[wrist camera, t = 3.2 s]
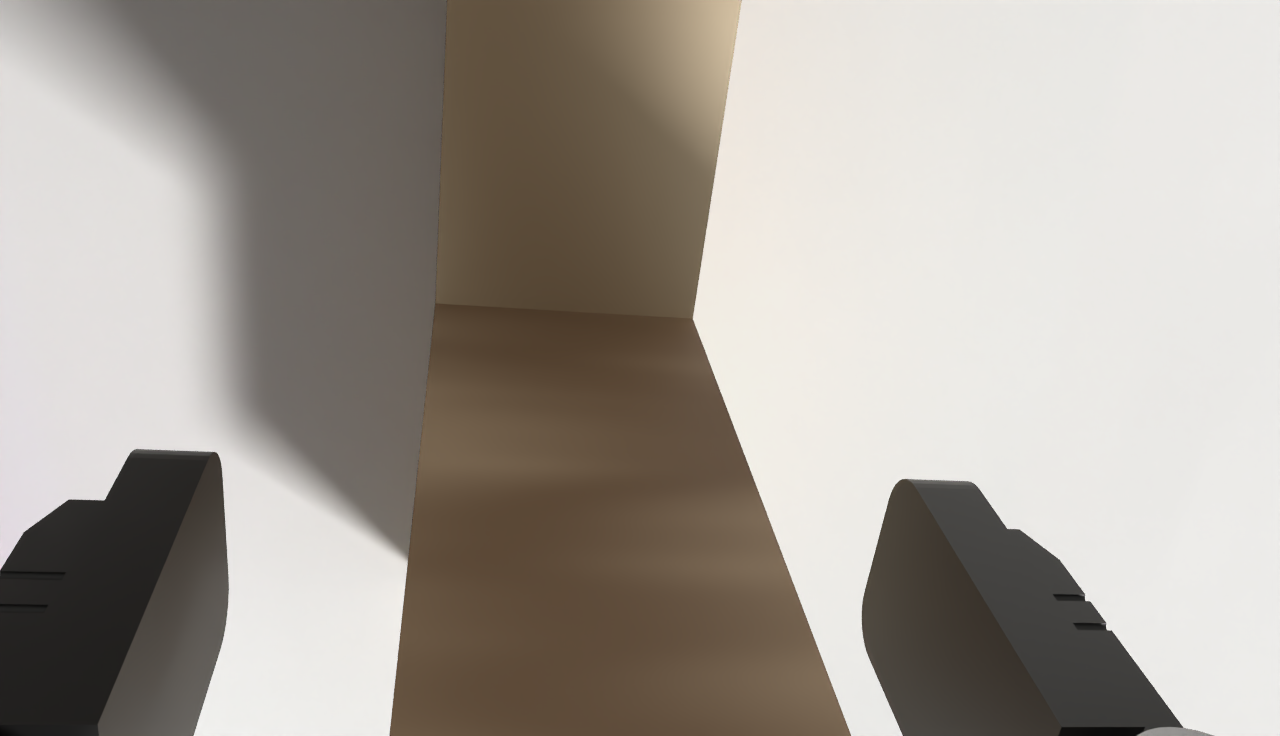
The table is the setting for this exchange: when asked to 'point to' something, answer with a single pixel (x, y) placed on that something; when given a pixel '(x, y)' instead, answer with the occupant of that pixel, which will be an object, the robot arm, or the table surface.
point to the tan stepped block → (588, 402)
